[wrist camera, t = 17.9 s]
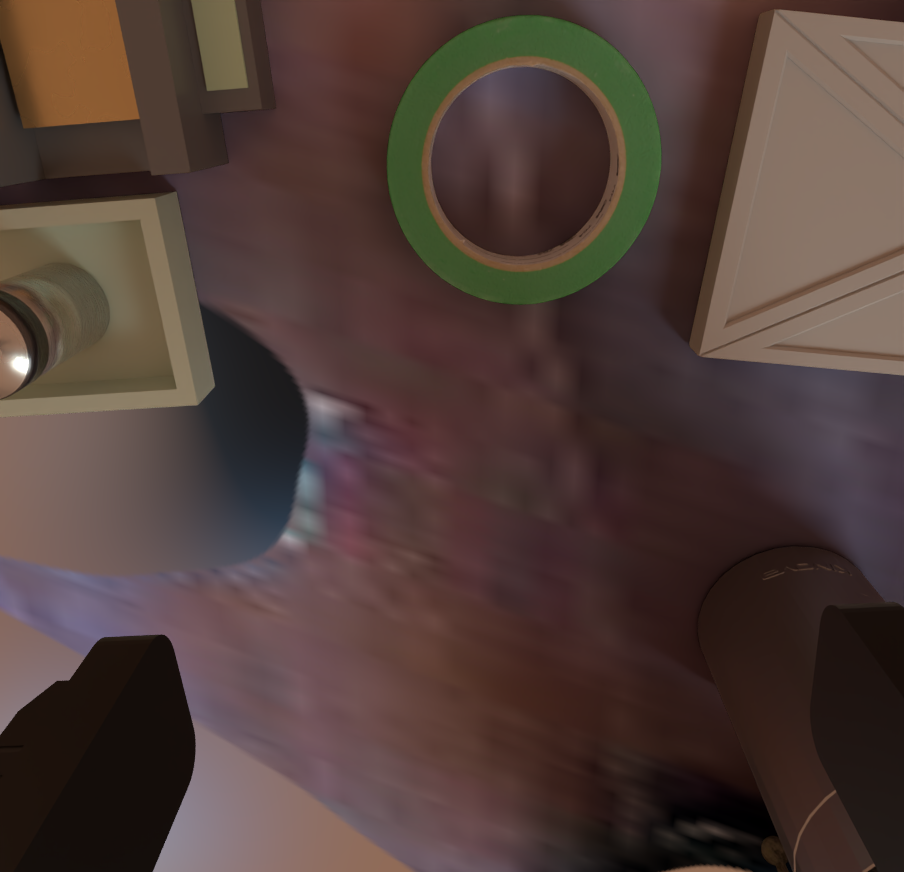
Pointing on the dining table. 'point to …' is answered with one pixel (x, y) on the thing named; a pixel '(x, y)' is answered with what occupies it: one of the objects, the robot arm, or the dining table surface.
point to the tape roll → (629, 143)
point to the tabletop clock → (774, 853)
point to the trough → (115, 303)
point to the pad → (67, 62)
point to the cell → (47, 321)
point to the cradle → (155, 95)
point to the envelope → (812, 202)
